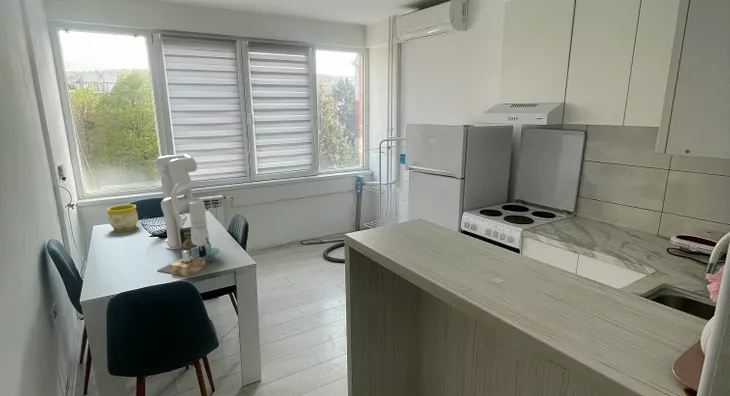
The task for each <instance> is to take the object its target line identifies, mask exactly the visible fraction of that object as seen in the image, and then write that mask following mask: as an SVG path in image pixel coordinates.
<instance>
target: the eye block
mask: <svg viewBox="0 0 730 396" xmlns="http://www.w3.org/2000/svg"><path fill="white" fill-rule="evenodd" d="M205 259H206V258H205V257H202V258H201V257H198V256H197V257H194V258H193V257H192V256H191V262H190V263H188V264H184V262H183V257H182V258H180V259H178V260H176V261H174V262H172V263H170V271H171V273H170V274H173V275H179V276H183V277H184V276H185V277H191V276H192V275H194V274H196V273H197V272H199V271H202V270H203V269H205V268H206V261H205Z"/></svg>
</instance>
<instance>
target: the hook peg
mask: <svg viewBox="0 0 730 396" xmlns="http://www.w3.org/2000/svg"><path fill="white" fill-rule="evenodd" d="M181 254H182V258H183V262H184V264H188V263H190V262H191V257H192V256H191V255H190V250H183V251H182V250H181Z"/></svg>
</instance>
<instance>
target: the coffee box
mask: <svg viewBox="0 0 730 396" xmlns="http://www.w3.org/2000/svg"><path fill="white" fill-rule="evenodd" d="M179 230H180V238H181V246H182V248H181V252H182V251H183V250H190V255H191V248H194V247H197V245H195V244H193V243H192V240H191V226H189V227H183V228H181V229H179ZM191 257H192V255H191Z"/></svg>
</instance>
